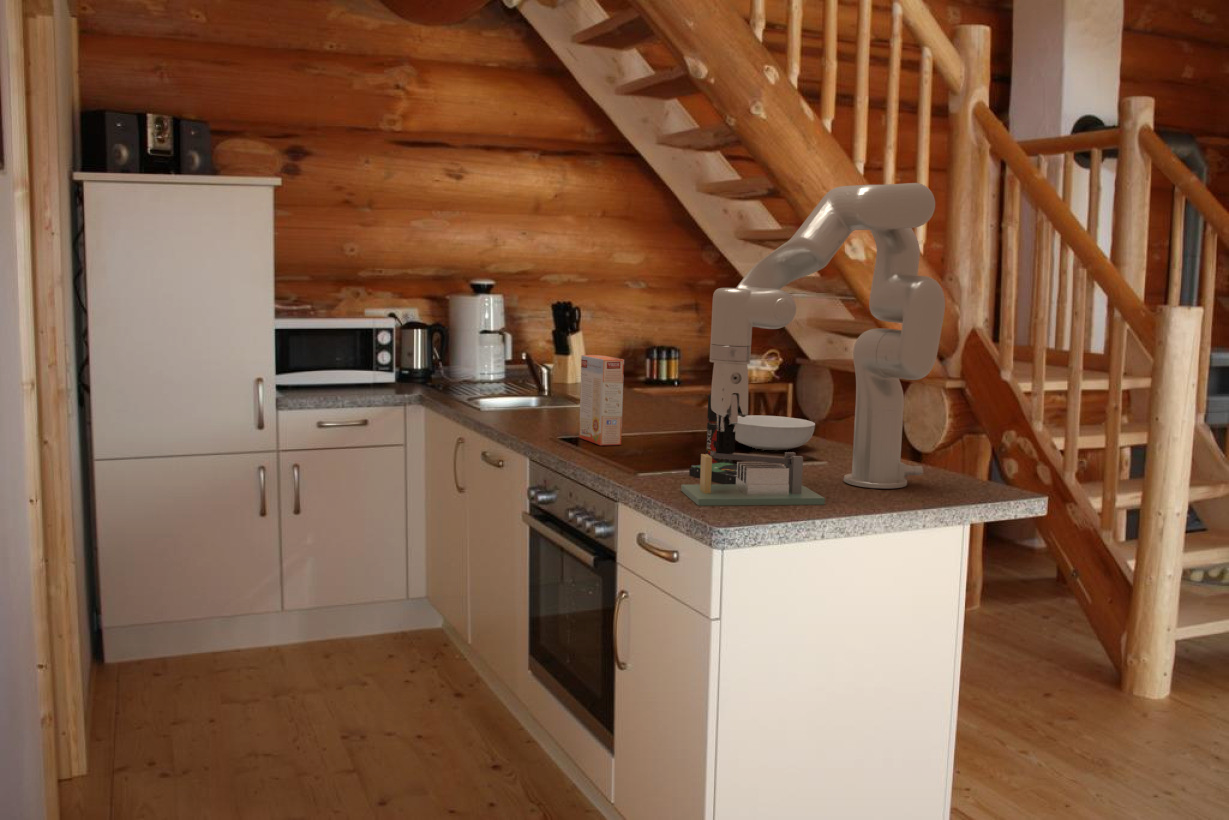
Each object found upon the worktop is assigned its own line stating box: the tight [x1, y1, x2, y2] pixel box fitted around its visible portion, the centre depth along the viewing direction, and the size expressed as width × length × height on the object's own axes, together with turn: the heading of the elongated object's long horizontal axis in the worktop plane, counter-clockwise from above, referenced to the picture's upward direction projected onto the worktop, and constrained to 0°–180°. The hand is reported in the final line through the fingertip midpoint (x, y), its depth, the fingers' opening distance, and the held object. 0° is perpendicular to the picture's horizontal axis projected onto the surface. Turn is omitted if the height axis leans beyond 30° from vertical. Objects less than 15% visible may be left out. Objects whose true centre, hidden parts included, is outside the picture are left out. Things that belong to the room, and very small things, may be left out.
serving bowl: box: [735, 414, 816, 451], centre depth 282 cm, size 21×21×7 cm
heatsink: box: [736, 461, 789, 495], centre depth 221 cm, size 8×8×5 cm
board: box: [680, 451, 826, 507], centre depth 221 cm, size 24×14×8 cm, turn 100°
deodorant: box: [705, 393, 733, 463], centre depth 259 cm, size 6×6×15 cm
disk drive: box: [688, 462, 737, 484], centre depth 240 cm, size 10×3×15 cm
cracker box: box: [578, 354, 625, 447], centre depth 284 cm, size 14×6×21 cm, turn 23°
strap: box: [710, 451, 794, 465], centre depth 220 cm, size 17×3×2 cm, turn 100°
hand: (724, 452), depth 219 cm, fingers closed
